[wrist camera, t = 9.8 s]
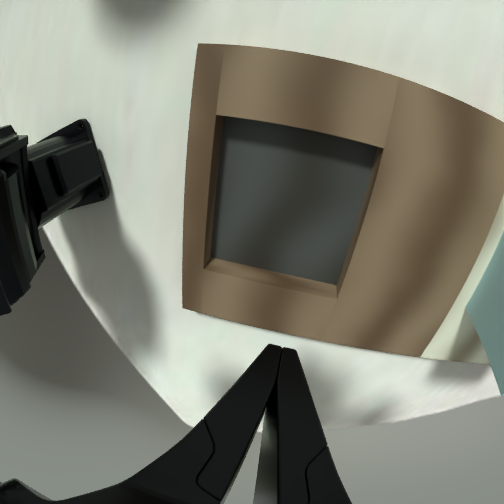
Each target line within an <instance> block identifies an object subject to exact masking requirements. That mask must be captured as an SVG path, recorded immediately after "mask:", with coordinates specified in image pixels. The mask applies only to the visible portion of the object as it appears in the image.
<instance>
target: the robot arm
mask: <svg viewBox="0 0 504 504" xmlns="http://www.w3.org/2000/svg"><path fill="white" fill-rule="evenodd" d="M81 124H82V125H83V127H81ZM27 144H28V135H20V136H19V135H17V132H15V131H14V129H13V128H12V126H11V125H6V126H3V127H0V315H4V314H8V313H10V312H11V311H12V309H11V305H13V304H14V303H16V302H17V301H18V300H19V299H20V298H21V297H23V296H24V294H26V293H27V292H28V291H29V289H30V287H31V283H30V282H31V280H32V278H33V276H34V275H35V274H36V272H37V270H38V269H39V267H40V265H41V264H42V262H43V261H44V259H45V257H46V256H45V252H44V250H43V249H42V244H41V240H40V235H39V230H38V229H40V228H41V227H42V226H44V225H45V224H47V223H48V222H50V221H51V220H53V219H54V218H56V217H57V216H59V215H60V214H62V213H63V212H65V211H66V210H70V209H73V208H77V207H80V206H84V205H88V204H91V203H95V202H99V201H103V200H105V199H106V198H108V197H109V190H108V187H107V184H106V181H105V178H104V175H103V172H102V169H101V165H100V162H99V159H98V156H97V152H96V149H95V145H94V142H93V139H92V135H91V131H90V128H89V124H88V121H87V120H86V119H80V120H77V121H75V122H73V123H72V124H70V125H68V126H66V127H64V128H62V129H60V130H58V131H57V132H55V133H53V134H51V135H49V136H48V137H46V138H44V139H43V140H41V141H39V142H38V143H36V144H34V145H32V146H29V147H27ZM102 192H103V193H104V195H103V194H102ZM265 409H266V410H265ZM264 412H265V416H264V423H263V432H262V440H261V448H260V456H259V464H258V472H257V479H256V486H255V493H254V500H253V504H352V503H351V501H350V499H349V497H348V495H347V492H346V490H345V488H344V486H343V484H342V482H341V480H340V477H339V475H338V473H337V470H336V467H335V465H334V462H333V459H332V456H331V453H330V450H329V447H328V446H327V442H326V438H325V435H324V432H323V429H322V426H321V423H320V420H319V417H318V414H317V411H316V408H315V405H314V402H313V399H312V396H311V393H310V390H309V387H308V384H307V381H306V378H305V375H304V372H303V369H302V366H301V363H300V360H299V357H298V354H297V351H296V350H295V349H290V348H286V347H284V348H282V347H281V346H277V345H273V344H268V345H267V346H266V347H265V349H264V350H263V351H262V352H261V353H260V355H259V356H258V357H257V358H256V359H255V360H254V362H253V363H252V364H251V365H250V366H249V367H248V369H247V370H246V371H245V372H244V373H243V374H242V376H241V377H240V378H239V379H238V380H237V381H236V382H235V384H234V385H233V386H232V387H231V388H230V389H229V390H228V391H227V393H226V394H225V395H224V396H223V397H222V398H221V399H220V400H219V401H218V402H217V404H216V405H215V406H214V407H213V408H212V409H211V410H210V411H209V412H208V413H207V414H206V416H205V417H204V418H203V419H202V420H201V421H200V422H199V423H198V424H197V425H196V426H195V427H194V428H193V429H192V430H191V431H190V432H189V433H188V434H187V435H186V436H185V437H184V438H183V439H182V440H180V441H179V442H178V443H177V444H176V445H174V446H173V447H172V448H171V449H169V451H167V452H166V453H164V454H163V455H162V456H160V457H159V458H157V459H156V460H155V461H153V462H152V463H151V464H149V465H148V466H146V467H145V468H144V469H142V470H141V471H139V472H138V473H136V474H135V475H134V476H132V477H130V478H128V479H126V480H124V481H122V482H120V483H118V484H116V485H113V486H110V487H107V488H104V489H101V490H97V491H94V492H91V493H87V494H84V495H80V496H76V497H73V498H69V499H65V500H59V501H52V500H51V499H49V498H47V497H46V496H44V495H42V494H41V493H39V492H37V491H36V490H33V489H32V488H31V487H29V486H27V485H26V484H24V483H23V482H21V481H19V480H18V479H15V478H14V479H11V480H9V481H7V482H4V483H1V482H0V504H224V502H225V500H226V498H227V496H228V494H229V492H230V490H231V487H232V485H233V483H234V481H235V479H236V477H237V475H238V472H239V470H240V468H241V466H242V464H243V461H244V459H245V457H246V455H247V452H248V450H249V448H250V446H251V443H252V441H253V439H254V436H255V434H256V432H257V429H258V427H259V425H260V422H261V420H262V417H263V415H264Z"/></svg>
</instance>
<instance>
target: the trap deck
mask: <svg viewBox="0 0 504 504" xmlns="http://www.w3.org/2000/svg"><path fill="white" fill-rule="evenodd" d="M503 231H504V122H502V121H500V120H498V119H496V118H494V117H493V116H491V115H489V114H487V113H485V112H483V111H481V110H479V109H477V108H475V107H472V106H470V105H468V104H466V103H464V102H462V101H459V100H457V99H455V98H453V97H450V96H448V95H446V94H443V93H441V92H438V91H436V90H433V89H431V88H428V87H425V86H423V85H420V84H417V83H415V82H412V81H409V80H406V79H403V78H400V77H397V76H394V75H391V74H388V73H384V72H381V71H378V70H374V69H370V68H367V67H363V66H359V65H356V64H352V63H347V62H343V61H339V60H334V59H330V58H325V57H320V56H315V55H310V54H304V53H298V52H292V51H285V50H278V49H270V48H262V47H252V46H241V45H226V44H199V43H198V48H197V55H196V63H195V71H194V80H193V89H192V99H191V109H190V120H189V131H188V144H187V158H186V174H185V193H184V218H183V262H182V304H183V308H184V309H188V310H191V311H195V312H199V313H203V314H206V315H210V316H214V317H218V318H222V319H226V320H230V321H234V322H238V323H242V324H246V325H250V326H254V327H259V328H263V329H267V330H272V331H276V332H281V333H285V334H290V335H295V336H299V337H304V338H309V339H314V340H319V341H324V342H329V343H335V344H340V345H346V346H351V347H357V348H363V349H369V350H375V351H381V352H387V353H394V354H401V355H408V356H415V357H422V358H430V359H438V360H447V361H456V362H466V363H477V364H488V365H490V362H489V360H488V357H487V355H486V352H485V350H484V347H483V345H482V343H481V340H480V338H479V335H478V333H477V331H476V329H475V326H474V324H473V322H472V320H471V318H470V315H469V313H468V311H467V309H466V305H467V303H468V302H469V300H470V298H471V296H472V295H473V293H474V291H475V289H476V287H477V286H478V284H479V282H480V280H481V278H482V276H483V274H484V272H485V270H486V268H487V266H488V264H489V262H490V260H491V258H492V256H493V254H494V252H495V250H496V247H497V245H498V243H499V241H500V238H501V236H502V234H503Z"/></svg>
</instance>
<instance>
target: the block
mask: <svg viewBox="0 0 504 504" xmlns="http://www.w3.org/2000/svg"><path fill="white" fill-rule="evenodd" d="M466 309H467V311H468V313H469V315H470V318H471V320H472V322H473V324H474V326H475V329H476V331H477V333H478V335H479V338H480V340H481V343H482V345H483V347H484V350H485V352H486V355H487V357H488V360H489V362H490V365H491V368H492V370H493V373H494V376H495V379H496V382H497V384H498V387H499V390H500V393H501V396H504V231H503V234H502V236H501V238H500V241H499V243H498V245H497V247H496V250H495V252H494V254H493V256H492V258H491V260H490V262H489V264H488V266H487V268H486V270H485V272H484V274H483V276H482V278H481V280H480V282H479V284H478V286H477V287H476V289H475V291H474V293H473V295H472V296H471V298H470V300H469V302H468V303H467V305H466Z"/></svg>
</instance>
